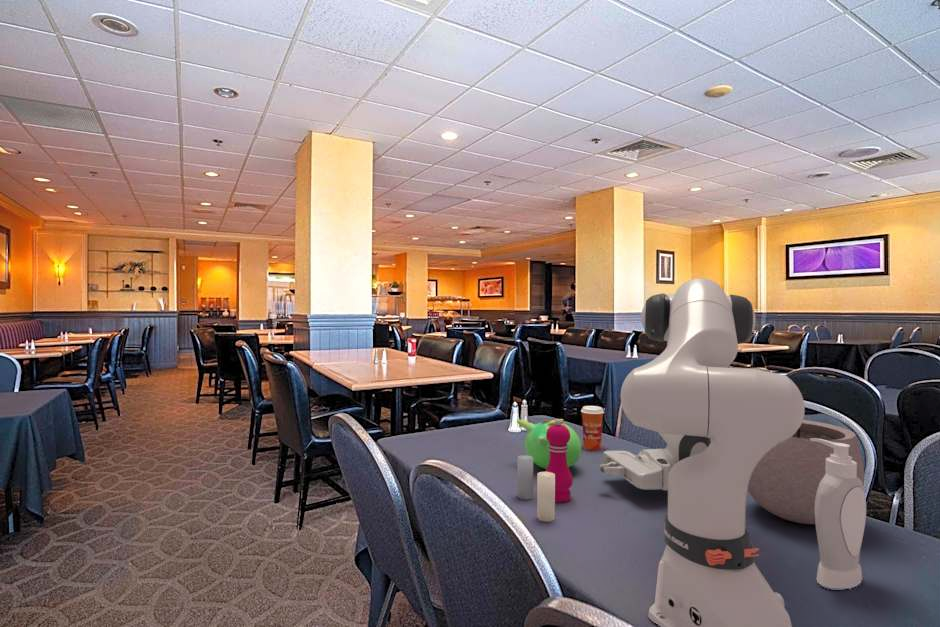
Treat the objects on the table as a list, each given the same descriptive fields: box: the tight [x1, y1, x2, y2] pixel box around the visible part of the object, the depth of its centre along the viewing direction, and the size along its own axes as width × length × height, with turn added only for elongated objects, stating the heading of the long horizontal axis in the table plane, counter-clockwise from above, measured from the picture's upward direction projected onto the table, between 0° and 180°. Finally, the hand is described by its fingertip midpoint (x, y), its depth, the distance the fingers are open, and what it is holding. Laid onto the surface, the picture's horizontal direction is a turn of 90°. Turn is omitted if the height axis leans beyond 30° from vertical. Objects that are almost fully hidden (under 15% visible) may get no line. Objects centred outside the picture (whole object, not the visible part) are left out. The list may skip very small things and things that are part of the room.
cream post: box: [536, 471, 556, 523], centre depth 113 cm, size 4×4×10 cm
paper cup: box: [580, 405, 605, 451], centre depth 168 cm, size 8×8×14 cm
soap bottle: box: [810, 438, 867, 588], centre depth 88 cm, size 13×8×24 cm, turn 115°
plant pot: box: [747, 387, 865, 525], centre depth 113 cm, size 24×24×30 cm
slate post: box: [516, 454, 534, 501], centre depth 126 cm, size 4×4×10 cm
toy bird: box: [516, 418, 582, 470], centre depth 148 cm, size 18×17×15 cm
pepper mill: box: [544, 418, 573, 503], centre depth 125 cm, size 7×7×20 cm
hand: (602, 469), depth 127 cm, fingers closed
